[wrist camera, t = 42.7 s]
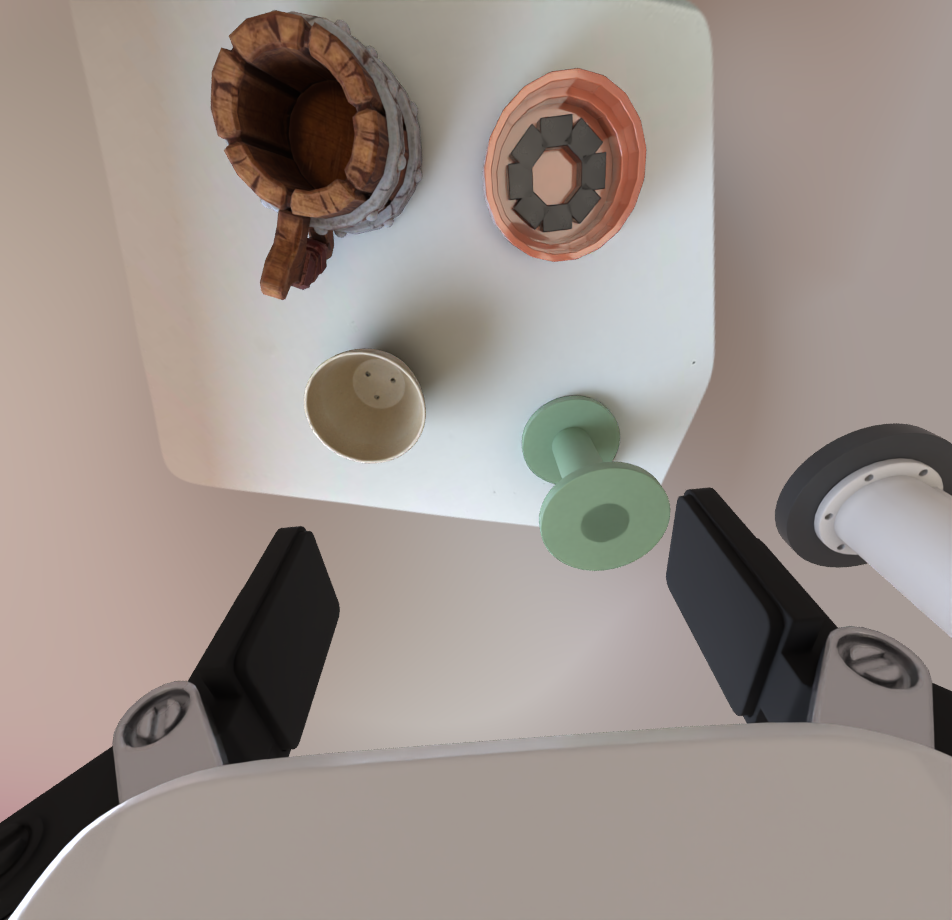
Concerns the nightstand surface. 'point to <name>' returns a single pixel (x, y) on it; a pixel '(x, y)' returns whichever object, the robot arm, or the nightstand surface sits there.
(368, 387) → the flower pot
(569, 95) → the bowl
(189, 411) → the nightstand surface
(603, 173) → the ring
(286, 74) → the mug
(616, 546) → the stand
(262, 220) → the nightstand surface
